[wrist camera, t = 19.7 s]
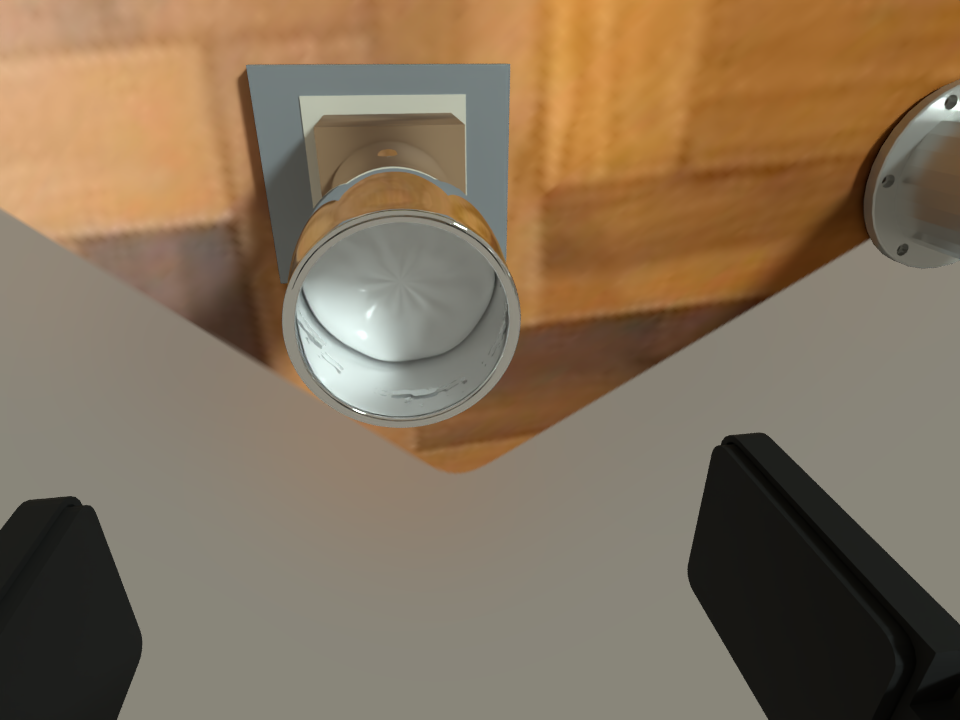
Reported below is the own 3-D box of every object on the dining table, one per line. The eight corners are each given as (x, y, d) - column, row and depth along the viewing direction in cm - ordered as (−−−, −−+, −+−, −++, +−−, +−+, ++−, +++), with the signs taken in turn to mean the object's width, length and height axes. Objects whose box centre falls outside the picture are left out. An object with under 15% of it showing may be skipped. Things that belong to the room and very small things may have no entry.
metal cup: (402, 298, 32) (421, 471, 19) (290, 213, 29) (220, 348, 16) (490, 197, 30) (578, 311, 17) (379, 97, 28) (383, 141, 14)
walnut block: (450, 112, 34) (464, 124, 29) (453, 235, 37) (466, 266, 32) (323, 114, 33) (313, 127, 28) (337, 240, 36) (331, 273, 31)
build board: (506, 63, 34) (510, 64, 33) (502, 267, 40) (506, 272, 39) (249, 64, 32) (245, 65, 31) (282, 278, 38) (280, 283, 37)
